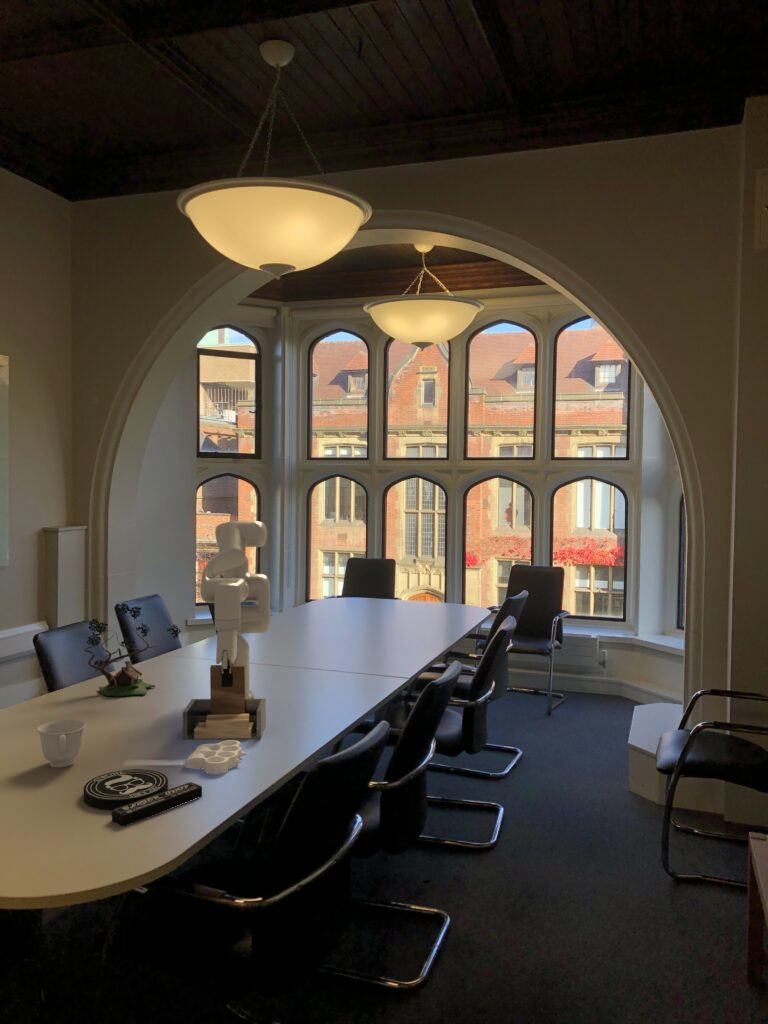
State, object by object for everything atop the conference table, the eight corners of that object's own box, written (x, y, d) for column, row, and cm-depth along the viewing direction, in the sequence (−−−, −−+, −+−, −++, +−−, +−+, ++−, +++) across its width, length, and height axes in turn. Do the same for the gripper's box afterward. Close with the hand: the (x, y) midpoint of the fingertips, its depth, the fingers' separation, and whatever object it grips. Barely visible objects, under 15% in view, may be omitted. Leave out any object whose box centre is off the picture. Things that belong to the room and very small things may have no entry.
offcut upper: (207, 723, 236) (207, 715, 236) (249, 721, 238) (249, 713, 238) (205, 730, 230) (205, 721, 230) (248, 728, 232) (248, 720, 232)
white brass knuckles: (200, 751, 225) (252, 752, 224) (180, 775, 207) (236, 776, 206) (200, 739, 225) (252, 740, 224) (179, 762, 207) (236, 764, 206)
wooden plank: (211, 714, 242) (211, 665, 241) (245, 714, 242) (245, 664, 241) (210, 716, 240) (210, 666, 239) (244, 716, 240) (244, 666, 239)
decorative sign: (203, 798, 192) (141, 773, 208) (203, 786, 192) (141, 762, 208) (123, 828, 176) (63, 798, 191) (122, 816, 176) (62, 787, 191)
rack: (192, 729, 242) (191, 699, 242) (265, 728, 243) (265, 698, 243) (183, 743, 229) (182, 711, 229) (261, 743, 230) (261, 711, 230)
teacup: (37, 778, 203) (36, 739, 202) (36, 759, 216) (36, 722, 216) (88, 772, 207) (88, 733, 207) (84, 753, 221) (84, 717, 221)
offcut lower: (198, 730, 238) (198, 722, 237) (253, 730, 238) (253, 721, 238) (194, 738, 231) (194, 729, 230) (250, 738, 231) (250, 729, 231)
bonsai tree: (68, 703, 268) (67, 608, 267) (94, 684, 293) (93, 597, 291) (174, 704, 269) (174, 609, 267) (191, 685, 293) (191, 598, 292)
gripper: (219, 618, 247) (219, 678, 248) (210, 629, 231) (210, 692, 232) (243, 618, 247) (244, 678, 248) (236, 629, 232) (236, 692, 233)
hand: (227, 684), depth 240 cm, fingers closed on wooden plank, 2 cm apart
